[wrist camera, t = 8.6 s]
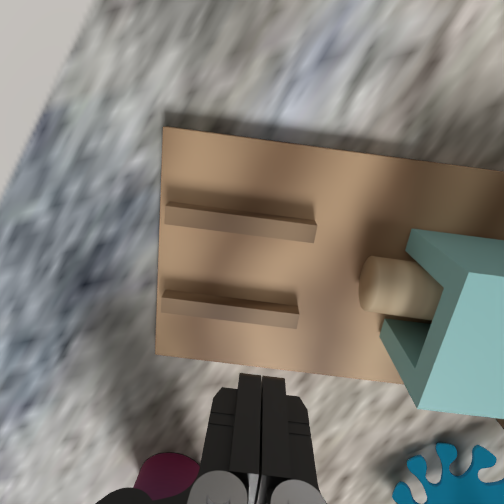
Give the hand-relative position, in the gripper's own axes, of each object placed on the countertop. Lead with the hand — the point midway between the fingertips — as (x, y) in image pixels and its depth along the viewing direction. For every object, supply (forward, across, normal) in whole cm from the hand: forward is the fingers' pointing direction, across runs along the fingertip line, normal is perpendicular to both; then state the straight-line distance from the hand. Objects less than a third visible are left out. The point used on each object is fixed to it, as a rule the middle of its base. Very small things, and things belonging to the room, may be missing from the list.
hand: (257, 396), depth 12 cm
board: (+11, -5, -1) cm, 12 cm away
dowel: (+10, -10, -1) cm, 14 cm away
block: (+10, -11, 0) cm, 15 cm away
